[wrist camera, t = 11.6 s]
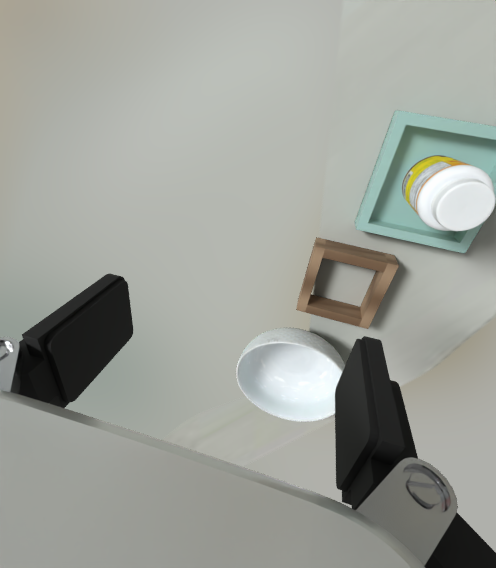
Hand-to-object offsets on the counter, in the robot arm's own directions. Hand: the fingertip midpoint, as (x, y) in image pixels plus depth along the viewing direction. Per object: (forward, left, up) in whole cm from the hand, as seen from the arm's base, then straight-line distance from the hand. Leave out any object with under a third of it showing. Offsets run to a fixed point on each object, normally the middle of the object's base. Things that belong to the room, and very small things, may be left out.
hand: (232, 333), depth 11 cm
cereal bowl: (+27, +6, -29) cm, 40 cm away
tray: (-3, +14, -28) cm, 32 cm away
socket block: (+11, +9, -28) cm, 32 cm away
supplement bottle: (-3, +14, -28) cm, 31 cm away
